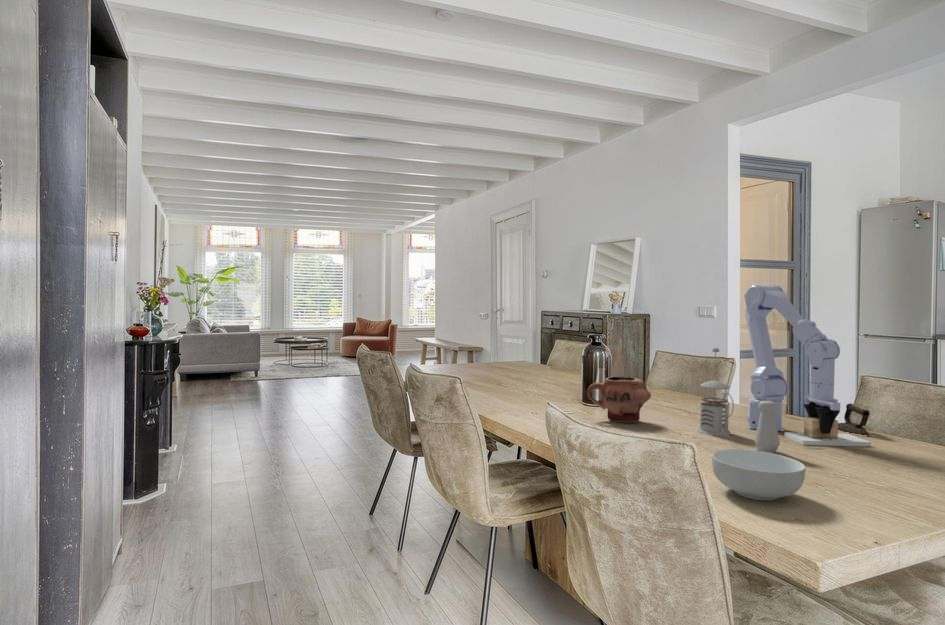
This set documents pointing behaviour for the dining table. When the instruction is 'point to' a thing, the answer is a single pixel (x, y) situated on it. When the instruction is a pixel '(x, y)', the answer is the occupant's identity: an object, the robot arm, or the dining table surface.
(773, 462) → the cereal bowl
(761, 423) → the salt shaker
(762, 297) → the robot arm
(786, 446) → the dining table surface
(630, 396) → the brown clay mug
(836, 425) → the block
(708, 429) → the french press
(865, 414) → the clothes iron
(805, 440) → the board
